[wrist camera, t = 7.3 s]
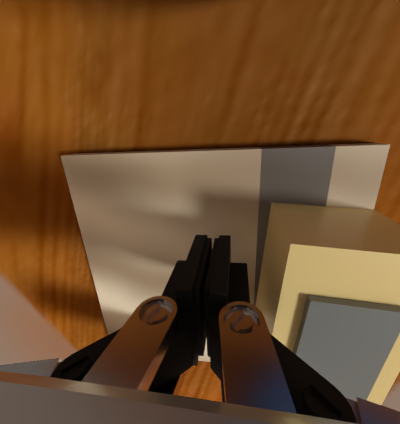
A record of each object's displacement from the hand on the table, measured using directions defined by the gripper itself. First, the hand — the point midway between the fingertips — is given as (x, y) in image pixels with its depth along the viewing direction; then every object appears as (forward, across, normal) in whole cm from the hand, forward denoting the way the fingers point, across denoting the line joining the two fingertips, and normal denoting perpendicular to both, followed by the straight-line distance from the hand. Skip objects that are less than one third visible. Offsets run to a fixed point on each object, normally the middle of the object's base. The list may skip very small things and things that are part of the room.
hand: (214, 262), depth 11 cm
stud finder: (+1, -5, +1) cm, 5 cm away
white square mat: (+2, 0, +2) cm, 3 cm away
